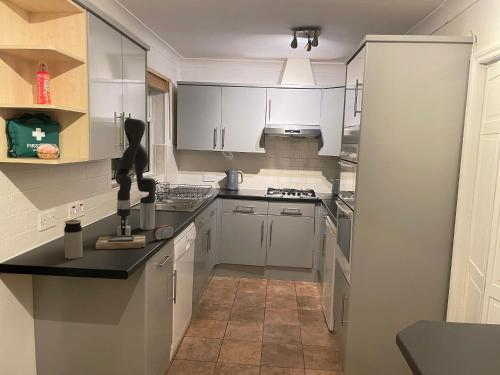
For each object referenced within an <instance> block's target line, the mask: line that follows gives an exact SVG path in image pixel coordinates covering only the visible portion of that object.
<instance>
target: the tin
mask: <svg viewBox="0 0 500 375" xmlns="http://www.w3.org/2000/svg"><path fill="white" fill-rule="evenodd" d="M151 235H152V238H153V240H157V241H162V240H161V239H163V240H167V239H171V238H172V237H173V236H174V235H175V227H174V225H171V224H170V223H166V224H162V225H161V224H160V225H157V226H156V225H155V228H154V229H152V232H151Z"/></svg>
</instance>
